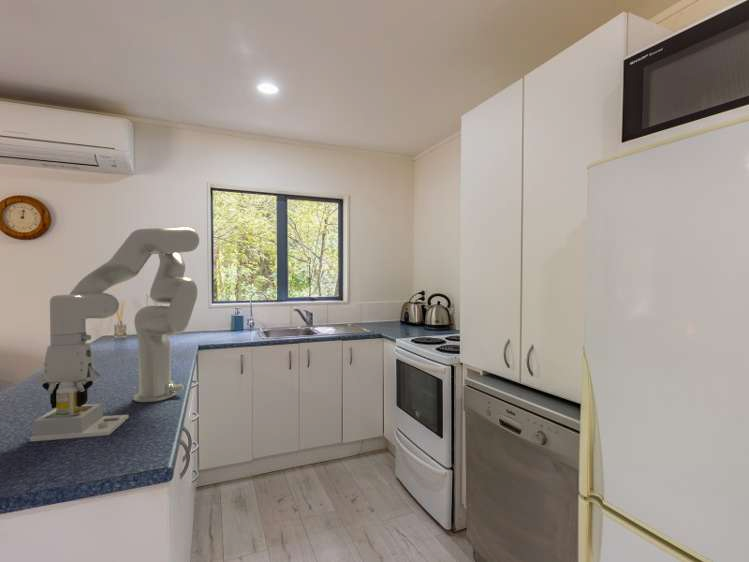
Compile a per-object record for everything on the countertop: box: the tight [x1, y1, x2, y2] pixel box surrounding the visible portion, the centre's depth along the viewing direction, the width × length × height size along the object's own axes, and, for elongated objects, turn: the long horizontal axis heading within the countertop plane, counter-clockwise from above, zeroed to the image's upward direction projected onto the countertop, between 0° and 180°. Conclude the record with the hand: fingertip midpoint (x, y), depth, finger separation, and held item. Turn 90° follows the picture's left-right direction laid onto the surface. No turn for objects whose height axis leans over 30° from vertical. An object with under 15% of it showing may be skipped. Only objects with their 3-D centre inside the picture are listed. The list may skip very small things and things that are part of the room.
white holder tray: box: [29, 403, 129, 442], centre depth 104 cm, size 18×12×5 cm, turn 102°
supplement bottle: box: [56, 382, 81, 417], centre depth 103 cm, size 5×5×10 cm
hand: (69, 405), depth 103 cm, fingers closed on supplement bottle, 5 cm apart
